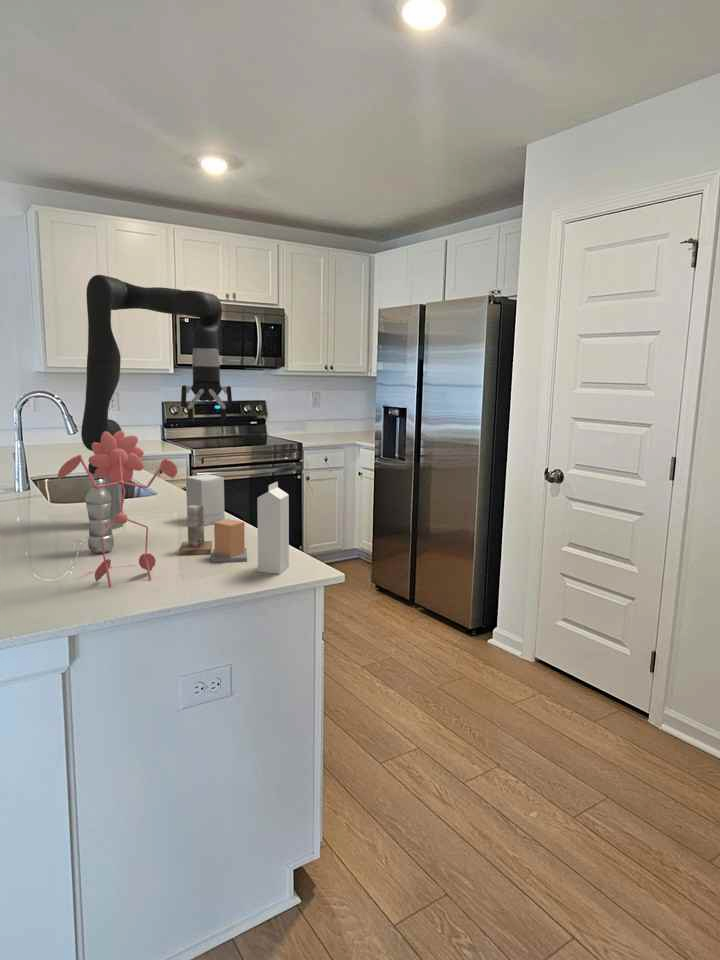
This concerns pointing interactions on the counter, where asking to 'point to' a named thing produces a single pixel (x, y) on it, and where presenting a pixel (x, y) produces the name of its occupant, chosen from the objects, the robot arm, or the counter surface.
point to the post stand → (195, 533)
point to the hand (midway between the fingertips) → (207, 422)
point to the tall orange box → (229, 537)
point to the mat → (228, 559)
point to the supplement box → (207, 496)
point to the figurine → (118, 481)
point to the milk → (273, 530)
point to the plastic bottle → (99, 517)
